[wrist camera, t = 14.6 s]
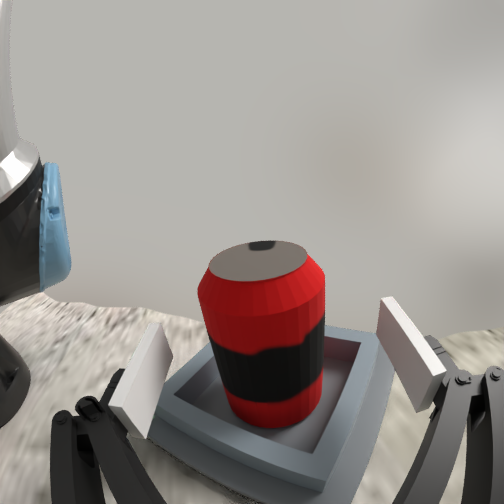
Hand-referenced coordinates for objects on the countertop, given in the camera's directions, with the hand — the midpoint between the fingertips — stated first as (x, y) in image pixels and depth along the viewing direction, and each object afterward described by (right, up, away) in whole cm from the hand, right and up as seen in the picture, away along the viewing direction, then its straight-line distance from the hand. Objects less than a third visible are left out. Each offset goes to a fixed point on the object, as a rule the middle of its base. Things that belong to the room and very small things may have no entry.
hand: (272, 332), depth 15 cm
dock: (+1, -8, +5) cm, 9 cm away
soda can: (+1, -7, +5) cm, 9 cm away
